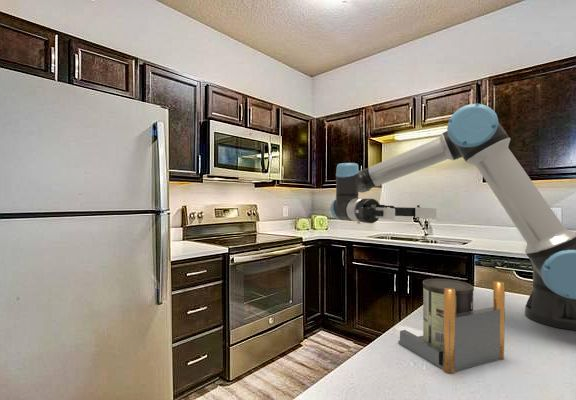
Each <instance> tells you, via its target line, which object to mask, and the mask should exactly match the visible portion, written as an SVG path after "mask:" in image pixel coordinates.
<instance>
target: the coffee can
mask: <svg viewBox="0 0 576 400" xmlns="http://www.w3.org/2000/svg"><path fill="white" fill-rule="evenodd" d="M422 286H423V289H422V290H423V291H422V292H423V293H422V295H423V296H422V297H423V298H422V299H423V300H422V301H423V302H422V303H423V305H422V306H423V307H422V311H423V314H422V316H423V317H422V319H423V321H422V325H423V327H422V332H423V333H422V336H423V340H425V341H427V342H429V343H431V344H433V345H435V346H437V347H439V348H440V349H442V350H443V316H444V288H451V289H455V314H458V313H464V312H469V311H474V291H475V287H474V285H472V284H471V283H468V282H465V281H461V280H456V279H447V278H427V279H424V280H422Z"/></svg>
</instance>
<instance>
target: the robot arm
mask: <svg viewBox="0 0 576 400" xmlns="http://www.w3.org/2000/svg"><path fill="white" fill-rule="evenodd" d="M446 129H447V130H446V131H444V132H442V133H441V134H440V136H439V137H438V138H436V139H432V140H431V141H429V142H426V143H423V144H421V145H419V146H416V147H413V148H412V149H409V150H406V151H405V152H402V153H400V154H397V155H395V156H392V157H390V158H388V159H386V160H383V161H381V162H378V163H376V164H373V165H372V166H369V167H367V168H364V169H362V170H359V164H358V163H355V162H342V163H338V164H336V165H337V166H336V171H335V172H336V173H335V183H336V184H335V193H336V194H335V199H334V200H333V201H332V203H331V204H330V208H329V209H330V213H331V215H332V216H333V218H335V219H336V220H341V221H347V222H356V223H357V224H361V223H366V224H375V223H376V222H377V221H378V220H379V219H382V220H396V217H414V218H423V219H432V220H433V219H437V207H421V206H420V205H419V204H418V205H416V206H415V207H404V206H403V207H398V206H396V207H395V206H394V205H386V204H380V202H379V201H377V200H376V199H374V198H359V193H362V194H363V193H366V192H369V191H370V190H372V189H373V188H376V187H378V186H381V185H383V184H386V183H388V182H391V181H394V180H396V179H399V178H402V177H404V176H407V175H410V174H412V173H415V172H418V171H421V170H424V169H425V168H428V167H430V166H431V167H432V166H434V165H436V164H439V163H441V162H444V161H446V160H451V161H456V160H458V159H461V158H463V160H464V161H465V163H467V164H470V165H474V166H476V168H477V170H478V171H479V173H480V174H481V176H482V178H483V180H484V181H485V182H486V183H487V185H488V186H489V188H490V189H491V191H492V193H493V194H494V195H495V197H496V198H497V199H496V200H498V201H499V203H500V204H501V206H502V208H503V209H504V211H505V212H506V214H507V216H508V217H509V219H511V221H512V223H513V224H514V226H515V228H516V229H517V230H518V232H519V234H520V235H521V237H523V240H524V241H525V242H526V247H525V251H524V252H525V254H526V256H527V257H528V259H529V260H530V262H531V264H532V290H531V292H530V294H529V297H528V298H527V301H526V303H525V307H524V315H525V316H526V317H527V318H528V319H531V320H532V321H535V322H537V323H540V324H542V325H546V326H549V327H553V328H558V329H564V330H570V331H576V231H574V230H570V229H567V228H565V226H564V224H562V222H561V220H560V219H559V217H558V216H557V215H556V214H555V212H554V210H553V209H552V208H551V206H550V205H549V204H548V202H547V201H546V199H545V198H544V196H543V195H542V194H541V192H540V191H539V189H538V188H537V186H536V185H535V183H534V182H533V181H532V179H531V178H530V177H529V175H528V173H527V172H526V171H525V169H524V168H523V166H522V165H521V164H520V162H519V161H518V160H517V158H516V157H515V155H514V154H513V152H512V151H511V150H510V147H509V146H510V142H511V137H509V135H508V133H507V132H506V130H505V129H504V128H503V126H502V125H501V124H500V121H499V118H498V115H497V113H496V112H495V110H493V109H492V107H490V106H488V105H486V104H482V103H470V104H469V103H468V104H466V105H463V106H461V107H460V108H458V109H457V110H456V111H454V112H453V114H452V115H451V116H450V118H449V119H448V123H447V127H446Z"/></svg>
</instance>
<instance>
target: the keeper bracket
mask: <svg viewBox="0 0 576 400" xmlns="http://www.w3.org/2000/svg"><path fill="white" fill-rule="evenodd" d="M492 284H493V285H492V286H493V289H492V290H493V291H492V292H493V295H492V297H493V300H492V304H493V305H492V307H491V306H490V307H486V308H480V309H476V310H474V309H473V311H469V312H464V313H458V314H455V289H451V288H444V316H443V350H442V349H440V348H439V347H437V346H435V345H433V344H431V343H429V342H427V341H425V340H423V335H419V336H417V335H415V334H414V333H412V332H410V331H408V330H406V329H403V330H402V329H401V330H399V340H398V344H399V345H401V346H402V347H404V348H406V349H407V350H408V351H411V352H412V353H414V354H416V355H417V356H419V357H421V358H422V359H424V360H426V361H427V362H429V363H431V364H432V365H434V366H436V367H438V368H439V369H441V370H443V372H444V373H446V374H452V375H453V374H455V373H457V372H460V371H464V370H467V369H471V368H474V367H477V366H481V365H485V364H489V363H491V362H495V361H499V360H501V361H502V360H504V359H505V324H506V323H505V314H506V311H505V310H506V309H505V308H506V307H505V301H506V299H505V298H506V296H505V293H506V292H505V290H506V289H505V285H506V284H505V282H504V281H498V280H496V281H495V280H493V283H492Z"/></svg>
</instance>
